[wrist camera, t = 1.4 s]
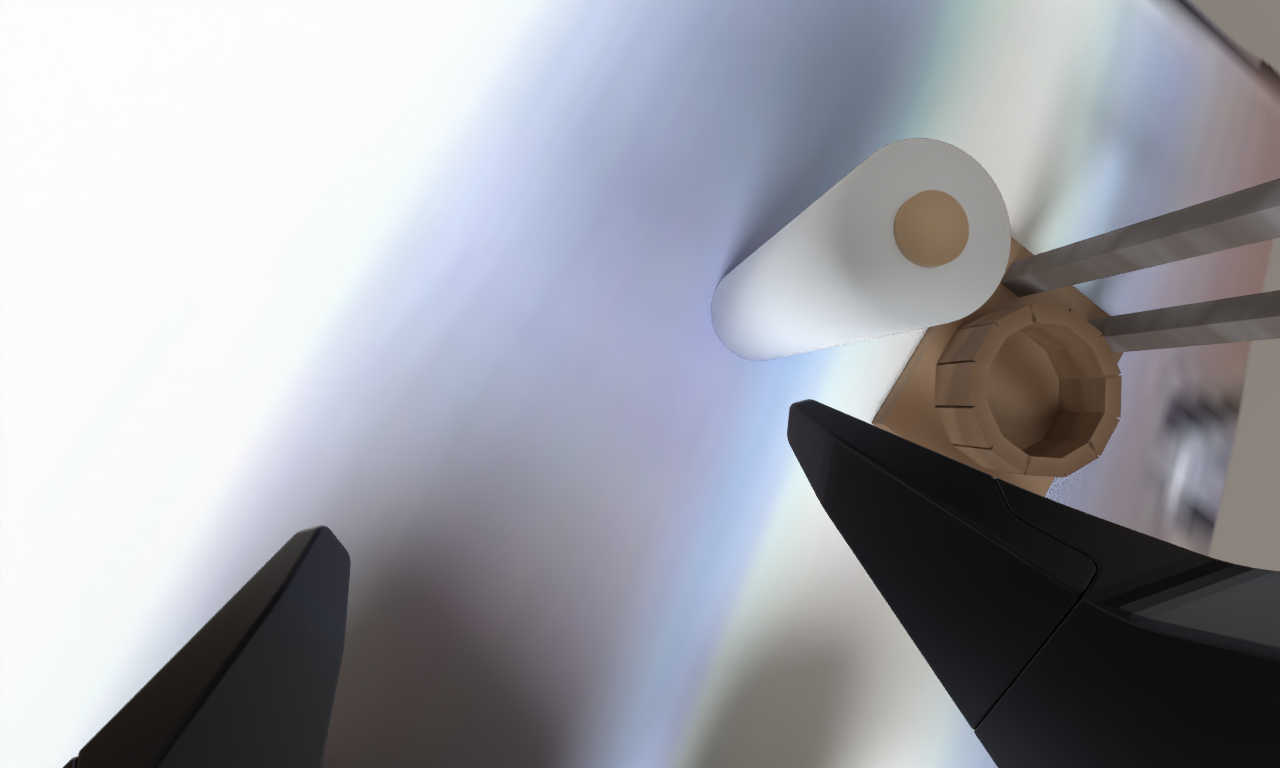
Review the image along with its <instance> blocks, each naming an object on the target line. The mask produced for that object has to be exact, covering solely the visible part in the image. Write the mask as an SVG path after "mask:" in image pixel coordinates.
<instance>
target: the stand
mask: <svg viewBox="0 0 1280 768" xmlns="http://www.w3.org/2000/svg"><path fill="white" fill-rule="evenodd" d="M1278 237H1280V178H1279V179H1276V180H1273V181H1270V182H1267V183H1263V184H1260V185H1257V186H1254V187H1251V188H1247V189H1244V190H1241V191H1238V192H1235V193H1232V194H1228V195H1225V196H1222V197H1219V198H1216V199H1213V200H1209V201H1206V202H1203V203H1200V204H1197V205H1193V206H1190V207H1187V208H1184V209H1181V210H1178V211H1174V212H1171V213H1168V214H1165V215H1162V216H1159V217H1155V218H1152V219H1149V220H1146V221H1143V222H1139V223H1136V224H1133V225H1130V226H1127V227H1124V228H1120V229H1117V230H1114V231H1111V232H1108V233H1105V234H1101V235H1098V236H1095V237H1092V238H1089V239H1086V240H1082V241H1079V242H1076V243H1073V244H1070V245H1066V246H1063V247H1060V248H1057V249H1054V250H1051V251H1047V252H1044V253H1041V254H1038V255H1035V256H1034V255H1033V254H1032V253H1030V252H1029V251H1028V250H1027V249H1025V248H1024V247H1023V246H1022V245H1020V244H1019V243H1018V242H1017V241H1015V240H1014V239H1013V238H1011V244H1010V254H1009V259H1008V263H1007V267H1006V270H1005V273H1004V275H1003V277H1002V279H1001V282H1000V284H999V285H998V287H997V288H996V290H995V291H994V293H993V294H992V295H991V297H990V298H989V299H988V300H987V301H986V302H985V303H984V304H983V305H982V306H981V307H980V308H979V309H977V310H976V311H974V312H973V313H971V314H970V315H968V316H966V317H964V318H962V319H959V320H956V321H953V322H950V323H946V324H941V325H936V326H931V327H930V328H929V329H928V331H927V332H926V334H925V336H924V337H923V339H922V341H921V342H920V344H919V346H918V347H917V349H916V351H915V352H914V354H913V356H912V357H911V359H910V361H909V362H908V364H907V366H906V367H905V369H904V370H903V372H902V374H901V375H900V377H899V379H898V380H897V382H896V384H895V385H894V387H893V389H892V390H891V392H890V394H889V395H888V397H887V399H886V400H885V402H884V404H883V405H882V407H881V408H880V410H879V412H878V413H877V415H876V417H875V418H874V420H873V422H872V424H874V425H875V426H876V427H878V428H881V429H883V430H885V431H888V432H890V433H893V434H895V435H897V436H900V437H902V438H904V439H907V440H909V441H911V442H914V443H916V444H919V445H921V446H923V447H926V448H928V449H930V450H933V451H935V452H937V453H940V454H942V455H945V456H947V457H949V458H952V459H954V460H956V461H959V462H961V463H963V464H966V465H968V466H971V467H973V468H975V469H978V470H980V471H982V472H985V473H987V474H989V475H992V476H993V478H999V479H1002V480H1004V481H1006V482H1009V483H1011V484H1013V485H1016V486H1018V487H1021V488H1023V489H1025V490H1028V491H1030V492H1033V493H1035V494H1038V495H1040V496H1043V497H1044V496H1045V495H1046V493H1047V491H1048V489H1049V487H1050V485H1051V484H1052V482H1053V480H1054V478H1055V477H1064V476H1065V477H1067V476H1068V475H1070V474H1072V473H1073V472H1075V471H1077V470H1078V469H1080V468H1082V467H1083V466H1085V465H1087V464H1088V463H1090V462H1092V461H1094V460H1095V459H1097V458H1099V457H1098V455H1101V454H1102V452H1103V450H1104V448H1105V446H1106V444H1107V443H1108V441H1109V439H1110V437H1111V435H1112V433H1113V431H1114V430H1115V428H1116V426H1117V424H1118V422H1119V419H1117V418H1116V417H1120V411H1121V376H1119V375H1118V374H1120V373H1121V372H1120V370H1119V368H1118V365H1117V363H1118V361H1119V360H1120V358H1121V356H1122V354H1123V352H1128V351H1139V350H1151V349H1162V348H1174V347H1185V346H1196V345H1208V344H1219V343H1231V342H1242V341H1253V340H1265V339H1276V338H1280V290H1278V291H1272V292H1265V293H1259V294H1252V295H1246V296H1239V297H1233V298H1227V299H1220V300H1214V301H1207V302H1201V303H1195V304H1188V305H1182V306H1175V307H1169V308H1162V309H1156V310H1150V311H1143V312H1137V313H1130V314H1124V315H1118V316H1109V315H1108V314H1107V313H1106V312H1104V311H1103V310H1102V309H1101V308H1099V307H1098V306H1097V305H1096V304H1094V303H1093V302H1092V301H1091V300H1089V299H1088V298H1087V297H1086V296H1084V295H1083V294H1082V293H1081V292H1079V291H1078V290H1077V289H1076V288H1074V287H1073V286H1072V285H1075V284H1079V283H1083V282H1088V281H1092V280H1096V279H1101V278H1105V277H1109V276H1114V275H1118V274H1122V273H1126V272H1131V271H1135V270H1139V269H1144V268H1148V267H1152V266H1157V265H1161V264H1165V263H1170V262H1174V261H1178V260H1183V259H1187V258H1191V257H1196V256H1200V255H1204V254H1209V253H1213V252H1217V251H1222V250H1226V249H1230V248H1234V247H1239V246H1243V245H1247V244H1252V243H1256V242H1260V241H1265V240H1269V239H1273V238H1278Z"/></svg>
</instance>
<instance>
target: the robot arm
mask: <svg viewBox="0 0 1280 768" xmlns="http://www.w3.org/2000/svg"><path fill="white" fill-rule="evenodd" d="M787 437H788V441H789V444H790V446H791V448H792V450H793V452H794V454H795V456H796V457H797V459H798V461H799V463H800V465H801V467H802V469H803V471H804V473H805V475H806V477H807V478H808V480H809V482H810V484H811V486H812V488H813V490H814V492H815V494H816V496H817V497H818V499H819V501H820V503H821V505H822V506H823V508H824V509H825V511H826V513H827V514H828V516H829V517H830V519H831V520H832V522H833V523H834V525H835V526H836V528H837V529H838V531H839V532H840V533H841V535H842V536H843V538H844V539H845V541H846V542H847V544H848V545H849V547H850V548H851V550H852V551H853V553H854V554H855V556H856V557H857V559H858V560H859V562H860V563H861V565H862V566H863V568H864V569H865V571H866V572H867V574H868V575H869V577H870V578H871V579H872V581H873V582H874V584H875V585H876V587H877V588H878V590H879V591H880V593H881V594H882V596H883V597H884V599H885V600H886V602H887V603H888V605H889V606H890V608H891V609H892V611H893V612H894V614H895V615H896V617H897V618H898V620H899V621H900V623H901V624H902V625H903V627H904V628H905V630H906V631H907V633H908V634H909V636H910V637H911V639H912V640H913V642H914V643H915V645H916V646H917V648H918V649H919V651H920V652H921V654H922V655H923V657H924V658H925V660H926V661H927V663H928V664H929V666H930V667H931V668H932V670H933V671H934V673H935V674H936V676H937V677H938V679H939V680H940V682H941V683H942V685H943V686H944V688H945V689H946V691H947V692H948V694H949V695H950V697H951V698H952V700H953V701H954V703H955V704H956V706H957V707H958V709H959V710H960V712H961V713H962V714H963V716H964V717H965V719H966V720H967V722H968V723H969V725H970V726H971V728H972V729H975V730H974V733H975V734H976V736H977V737H978V739H979V740H980V742H981V743H982V745H983V746H984V748H985V749H986V751H987V752H988V754H989V755H990V757H991V758H992V760H993V761H994V762H995V764H996V765H997V767H998V768H1280V571H1279V572H1278V571H1271V570H1263V569H1257V568H1251V567H1247V566H1242V565H1237V564H1233V563H1229V562H1225V561H1221V560H1217V559H1214V558H1211V557H1208V556H1205V555H1202V554H1199V553H1196V552H1193V551H1190V550H1188V549H1185V548H1182V547H1179V546H1176V545H1174V544H1171V543H1168V542H1165V541H1162V540H1160V539H1157V538H1154V537H1151V536H1148V535H1146V534H1143V533H1140V532H1137V531H1134V530H1132V529H1129V528H1126V527H1123V526H1120V525H1118V524H1115V523H1112V522H1109V521H1106V520H1104V519H1101V518H1098V517H1095V516H1093V515H1090V514H1087V513H1085V512H1082V511H1079V510H1076V509H1074V508H1071V507H1068V506H1066V505H1063V504H1060V503H1058V502H1055V501H1053V500H1050V499H1048V498H1045V497H1043V496H1040V495H1038V494H1035V493H1033V492H1030V491H1028V490H1025V489H1023V488H1021V487H1018V486H1016V485H1013V484H1011V483H1009V482H1006V481H1004V480H1002V479H999V478H993V476H992V475H989V474H987V473H985V472H982V471H980V470H978V469H975V468H973V467H971V466H968V465H966V464H963V463H961V462H959V461H956V460H954V459H952V458H949V457H947V456H945V455H942V454H940V453H937V452H935V451H933V450H930V449H928V448H926V447H923V446H921V445H919V444H916V443H914V442H911V441H909V440H907V439H904V438H902V437H900V436H897V435H895V434H893V433H890V432H888V431H885V430H883V429H881V428H878V427H876V426H874V425H871V424H869V423H867V422H864V421H862V420H859V419H857V418H855V417H852V416H850V415H848V414H845V413H843V412H841V411H838V410H836V409H833V408H831V407H829V406H826V405H824V404H822V403H819V402H817V401H814V400H811V399H808V400H803V401H800V402H796V403H793V404H792V405H791V406H790V410H789V419H788V430H787ZM349 577H350V557H349V554H348V552H347V550H346V549H345V548H344V546H343V545H342V544H341V543H340V541H339V540H338V539H337V537H336V536H335V535H334V534H333V532H332V531H331V530H330V529H329V528H328V527H326V526H316V527H312V528H309V529H305V530H302V531H299V532H297V533H296V534H295V535H294V536H293V537H292V538H291V539H290V540H289V541H288V542H287V543H286V544H285V545H284V546H283V547H282V548H281V549H280V550H279V551H278V552H277V553H276V554H275V555H274V556H273V557H272V558H271V559H270V560H269V561H268V562H267V563H266V564H265V565H264V566H263V567H262V568H261V569H260V570H259V571H258V572H257V573H256V574H255V575H254V576H253V577H252V578H251V579H250V580H249V581H248V582H247V583H246V584H245V585H244V586H243V587H242V588H241V589H240V590H239V591H238V592H237V593H236V594H235V595H234V596H233V597H232V598H231V599H230V600H229V601H228V602H227V603H226V604H225V605H224V606H223V607H222V608H221V609H220V610H219V611H218V612H217V613H216V614H215V615H214V616H213V617H212V618H211V619H210V620H209V621H208V622H207V623H206V624H205V625H204V626H203V627H202V628H201V629H200V630H199V631H198V632H197V633H196V634H195V635H194V636H193V637H192V638H191V639H190V640H189V641H188V642H187V643H186V644H185V645H184V646H183V647H182V648H181V649H180V650H179V651H178V652H177V653H176V654H175V655H174V656H173V657H172V658H171V659H170V661H169V662H168V663H167V664H166V665H165V666H164V667H163V668H162V669H161V670H160V671H159V672H158V673H157V674H156V675H155V676H154V677H153V678H152V679H151V680H150V681H149V682H148V683H147V684H146V685H145V686H144V687H143V688H142V689H141V690H140V691H139V692H138V693H137V694H136V695H135V696H134V697H133V698H132V699H131V700H130V701H129V702H128V703H127V704H126V705H125V706H124V707H123V708H122V709H121V710H120V711H119V712H118V713H117V714H116V715H115V716H114V717H113V718H112V719H111V720H110V721H109V722H108V723H107V724H106V725H105V726H104V727H103V728H102V729H101V730H100V731H99V732H98V733H97V734H96V735H95V736H94V737H93V738H92V739H91V740H90V741H89V742H88V743H87V744H86V745H85V746H84V747H83V748H82V749H81V750H80V751H79V754H78V756H77V757H74V758H72V759H71V760H70V761H69V762H68V763H67V764H66V765H65V766H64V767H63V768H321V764H322V759H323V754H324V749H325V744H326V738H327V733H328V728H329V723H330V718H331V712H332V707H333V702H334V697H335V692H336V686H337V681H338V676H339V671H340V666H341V660H342V654H343V648H344V640H345V630H346V617H347V603H348V590H349Z"/></svg>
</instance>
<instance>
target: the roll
mask: <svg viewBox="0 0 1280 768" xmlns="http://www.w3.org/2000/svg"><path fill="white" fill-rule="evenodd" d="M1010 244H1011V232H1010V223H1009V217H1008V213H1007V209H1006V206H1005V203H1004V200H1003V198H1002V196H1001V193H1000V191H999V189H998V188H997V186H996V184H995V182H994V181H993V179H992V178H991V177H990V175H989V174H988V172H987V171H986V170H985V169H984V168H983V167H982V166H981V165H980V164H979V163H978V162H977V161H976V160H975V159H973V158H972V157H971V156H970V155H968V154H967V153H965V152H964V151H962V150H961V149H959V148H957V147H955V146H953V145H951V144H948V143H945V142H942V141H938V140H933V139H926V138H913V139H905V140H900V141H896V142H894V143H891V144H889V145H886V146H884V147H882V148H881V149H879V150H877V151H876V152H874V153H873V154H872V155H871V156H869V157H868V158H867V159H866V160H865V161H863V162H862V163H861V164H860V165H858V166H857V167H856V168H855V169H854V170H852V171H851V172H850V173H849V174H848V175H846V176H845V177H844V178H843V179H842V180H840V181H839V182H838V183H837V184H836V185H834V186H833V187H832V188H831V189H830V190H828V191H827V192H826V193H825V194H824V195H822V196H821V197H820V198H819V199H818V200H816V201H815V202H814V203H813V204H811V205H810V206H809V207H808V208H807V209H805V210H804V211H803V212H802V213H801V214H799V215H798V216H797V217H796V218H795V219H793V220H792V221H791V222H790V223H789V224H787V225H786V226H785V227H784V228H783V229H781V230H780V231H779V232H778V233H777V234H775V235H774V236H773V237H772V238H770V239H769V240H768V241H767V242H766V243H764V244H763V245H762V246H761V247H760V248H758V249H757V250H756V251H755V252H754V253H752V254H751V255H750V256H749V257H748V258H746V259H745V260H744V261H743V262H742V263H740V264H739V265H738V266H737V267H736V268H734V269H733V270H732V271H731V272H729V273H728V274H727V275H726V276H725V277H724V278H723V279H722V280H721V282H720V283H719V284H718V286H717V288H716V290H715V292H714V295H713V298H712V302H711V319H712V324H713V327H714V330H715V332H716V334H717V336H718V338H719V339H720V341H721V342H722V343H723V345H724V346H725V347H726V348H727V349H728V350H730V351H731V352H732V353H734V354H736V355H737V356H739V357H742V358H744V359H748V360H752V361H766V360H771V359H776V358H781V357H786V356H791V355H796V354H800V353H805V352H810V351H815V350H820V349H825V348H830V347H834V346H839V345H844V344H849V343H854V342H859V341H863V340H868V339H873V338H878V337H883V336H888V335H893V334H897V333H902V332H907V331H912V330H917V329H922V328H926V327H931V326H936V325H941V324H946V323H950V322H953V321H956V320H959V319H962V318H964V317H966V316H968V315H970V314H971V313H973V312H974V311H976V310H977V309H979V308H980V307H981V306H982V305H983V304H984V303H985V302H986V301H987V300H988V299H989V298H990V297H991V295H992V294H993V293H994V291H995V290H996V288H997V287H998V285H999V284H1000V282H1001V279H1002V277H1003V275H1004V273H1005V270H1006V267H1007V263H1008V259H1009V254H1010Z"/></svg>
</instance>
